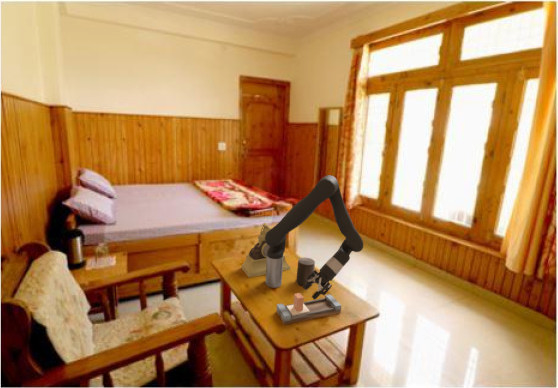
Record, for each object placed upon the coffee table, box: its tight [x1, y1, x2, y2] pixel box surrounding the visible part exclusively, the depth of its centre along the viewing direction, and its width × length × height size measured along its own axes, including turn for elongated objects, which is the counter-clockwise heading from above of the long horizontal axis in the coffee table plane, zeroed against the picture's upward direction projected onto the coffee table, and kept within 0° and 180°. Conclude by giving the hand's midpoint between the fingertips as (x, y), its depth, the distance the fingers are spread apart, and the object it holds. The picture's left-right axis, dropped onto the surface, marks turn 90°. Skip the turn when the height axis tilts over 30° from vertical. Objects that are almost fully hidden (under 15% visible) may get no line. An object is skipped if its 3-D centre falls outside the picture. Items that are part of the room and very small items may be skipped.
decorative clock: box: [240, 222, 291, 278], centre depth 182 cm, size 28×13×30 cm, turn 117°
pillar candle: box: [295, 256, 316, 288], centre depth 169 cm, size 10×10×15 cm
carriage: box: [285, 292, 310, 316], centre depth 140 cm, size 7×9×8 cm
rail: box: [276, 293, 342, 325], centre depth 143 cm, size 10×30×4 cm, turn 112°
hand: (308, 293), depth 141 cm, fingers open, 8 cm apart
